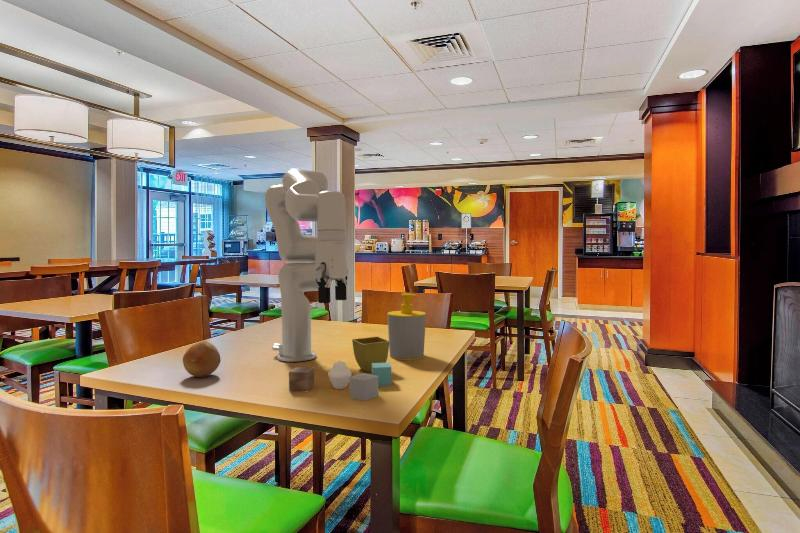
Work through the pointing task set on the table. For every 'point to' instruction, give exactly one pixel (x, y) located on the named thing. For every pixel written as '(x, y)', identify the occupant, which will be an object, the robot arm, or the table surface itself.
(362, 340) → the flower pot
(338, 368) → the muffin
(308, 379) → the walnut cube
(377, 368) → the teal cube
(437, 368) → the table surface
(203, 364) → the onion
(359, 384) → the grey cube
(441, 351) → the table surface
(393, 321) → the soap bottle
